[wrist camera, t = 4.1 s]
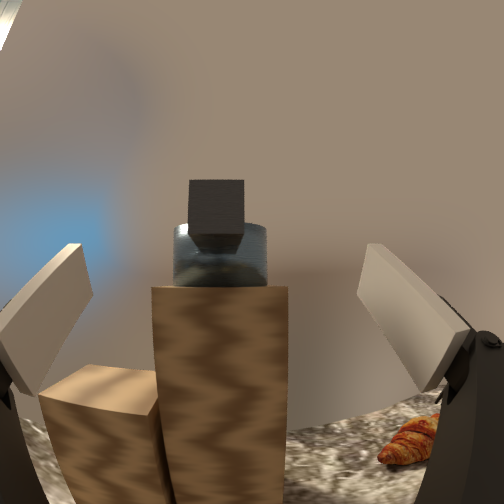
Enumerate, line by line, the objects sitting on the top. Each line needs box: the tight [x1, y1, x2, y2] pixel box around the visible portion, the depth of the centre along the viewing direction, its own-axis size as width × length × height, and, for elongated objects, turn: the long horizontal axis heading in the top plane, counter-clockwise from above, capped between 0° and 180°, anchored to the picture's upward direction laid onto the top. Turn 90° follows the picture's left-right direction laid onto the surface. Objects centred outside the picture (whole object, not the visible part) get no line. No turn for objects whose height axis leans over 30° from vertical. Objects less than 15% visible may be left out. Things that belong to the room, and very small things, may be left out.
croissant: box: [377, 413, 440, 465], centre depth 33 cm, size 21×10×8 cm, turn 104°
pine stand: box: [38, 285, 288, 504], centre depth 28 cm, size 26×14×33 cm, turn 96°
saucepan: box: [173, 180, 267, 287], centre depth 25 cm, size 10×21×6 cm, turn 6°
